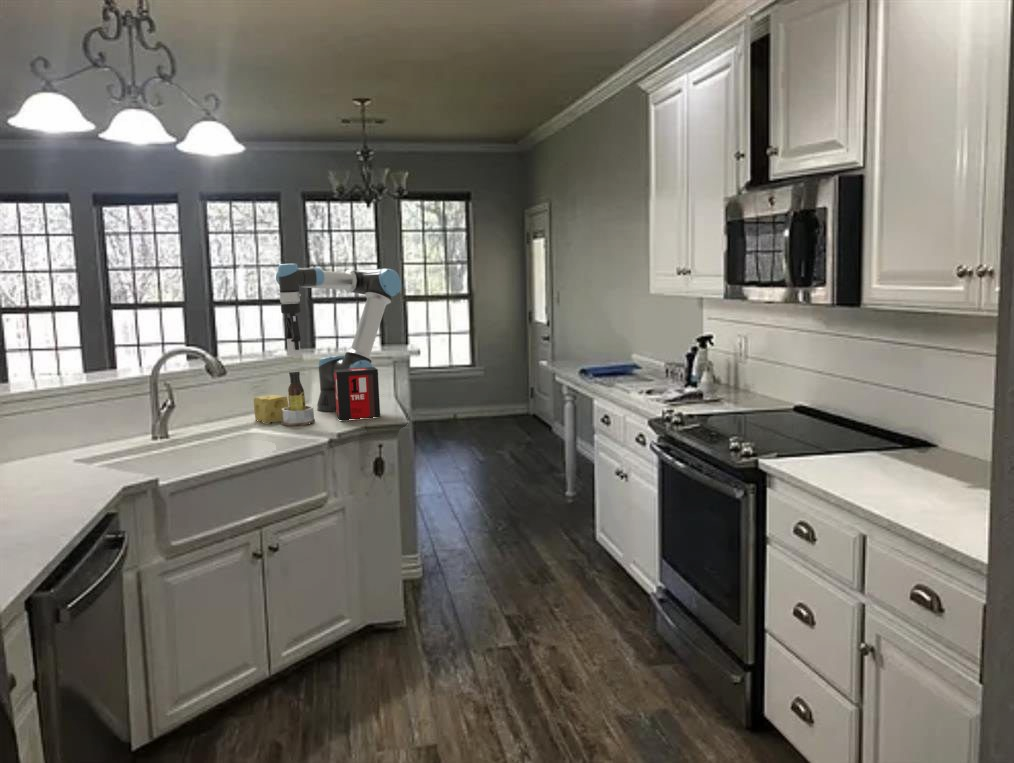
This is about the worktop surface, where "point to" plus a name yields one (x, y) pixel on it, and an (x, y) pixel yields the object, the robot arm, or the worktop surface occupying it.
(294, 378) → the sauce bottle
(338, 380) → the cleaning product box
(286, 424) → the duct base
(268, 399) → the cheese
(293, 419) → the collar
